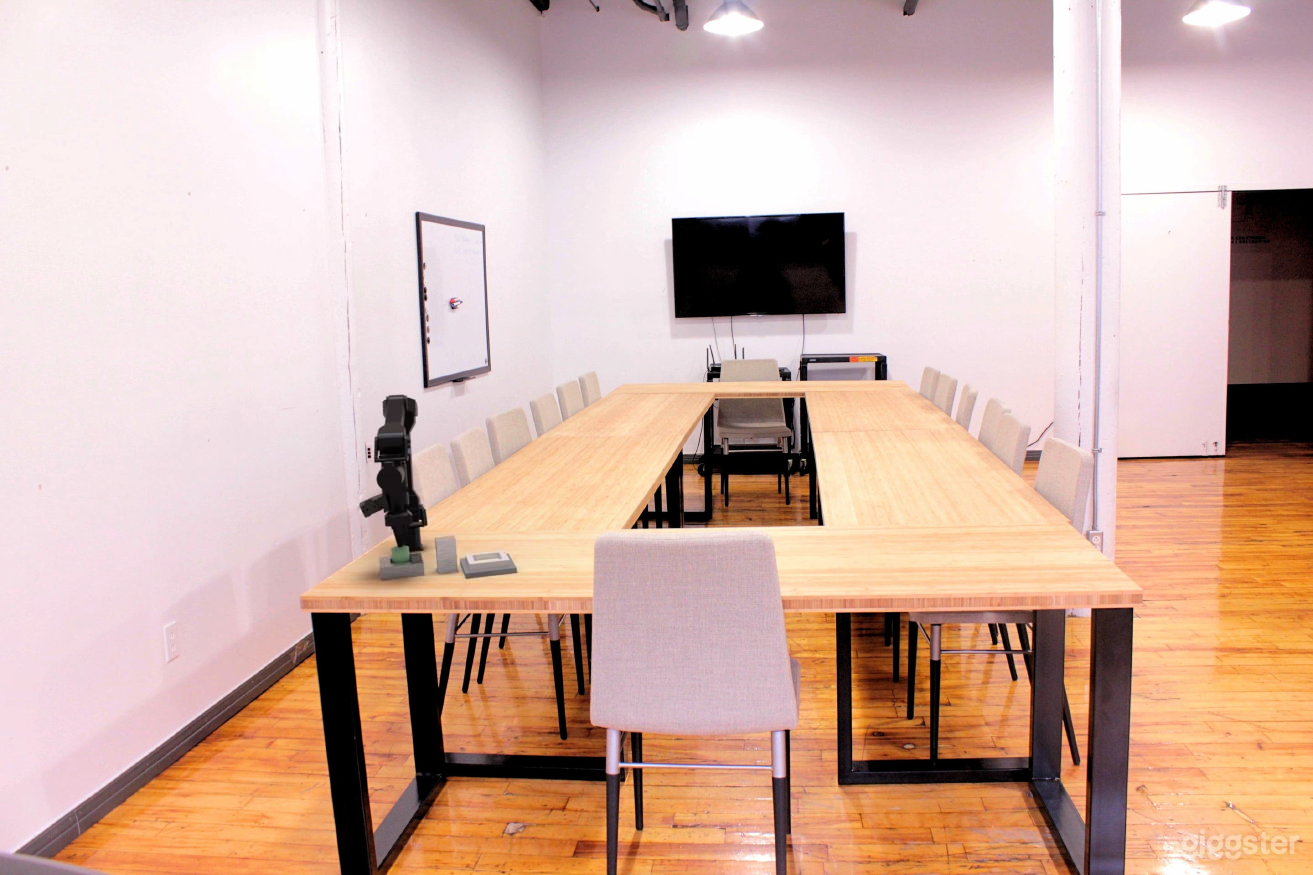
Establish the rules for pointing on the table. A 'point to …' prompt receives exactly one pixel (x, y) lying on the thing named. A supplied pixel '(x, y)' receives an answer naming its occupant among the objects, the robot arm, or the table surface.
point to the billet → (446, 554)
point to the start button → (400, 554)
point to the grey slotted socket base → (487, 564)
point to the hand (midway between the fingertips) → (400, 546)
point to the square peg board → (401, 567)
